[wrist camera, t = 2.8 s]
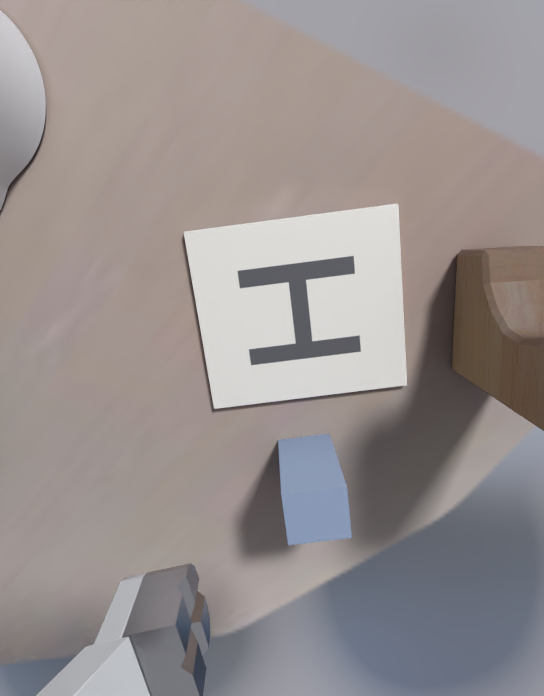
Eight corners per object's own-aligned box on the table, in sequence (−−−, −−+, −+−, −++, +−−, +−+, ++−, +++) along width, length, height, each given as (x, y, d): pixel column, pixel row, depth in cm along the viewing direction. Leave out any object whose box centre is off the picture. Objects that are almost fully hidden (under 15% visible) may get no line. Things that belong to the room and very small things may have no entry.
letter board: (214, 406, 39) (214, 408, 38) (185, 232, 35) (183, 231, 34) (404, 383, 38) (406, 385, 38) (396, 204, 34) (398, 203, 34)
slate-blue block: (283, 480, 41) (288, 545, 32) (278, 439, 40) (281, 494, 31) (333, 475, 40) (351, 537, 32) (329, 433, 39) (347, 486, 31)
